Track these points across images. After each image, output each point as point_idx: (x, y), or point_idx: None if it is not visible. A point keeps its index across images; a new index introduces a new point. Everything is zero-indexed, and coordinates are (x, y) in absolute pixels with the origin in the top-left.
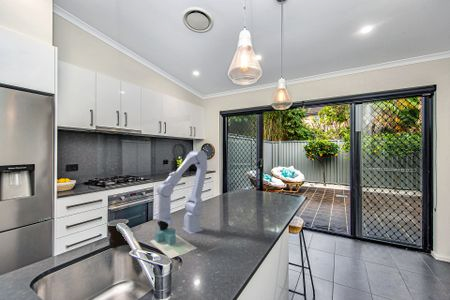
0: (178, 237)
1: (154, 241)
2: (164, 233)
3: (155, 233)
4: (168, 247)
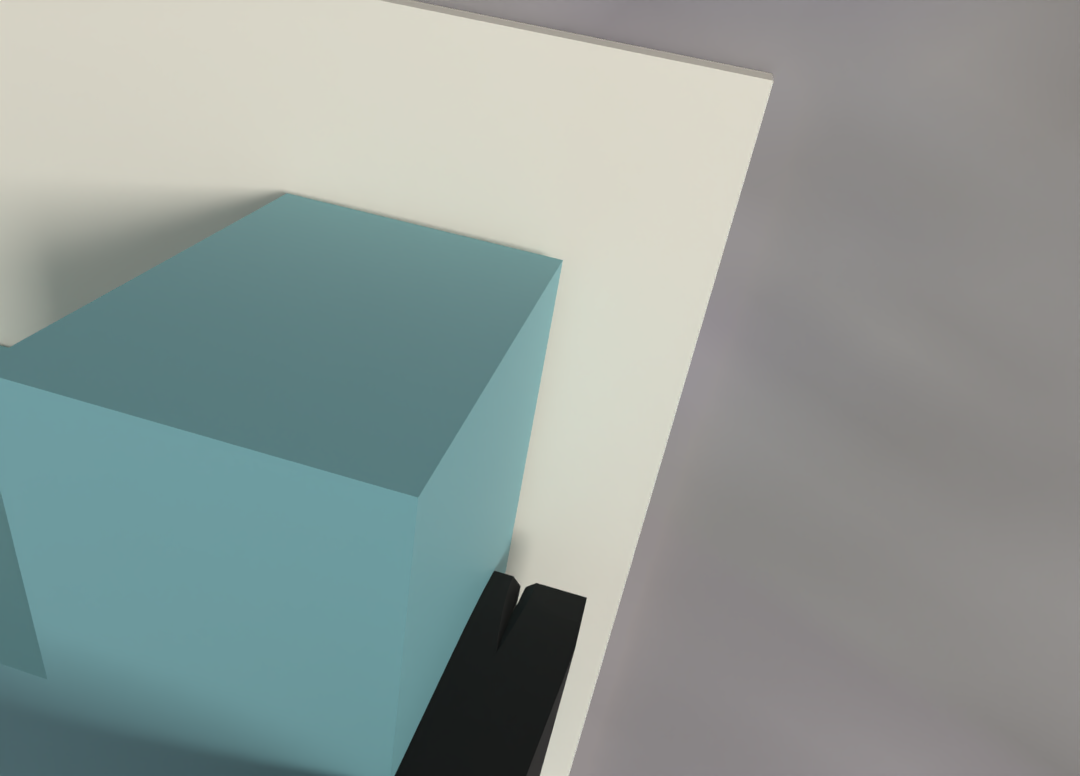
0: None
1: (527, 199)
2: (17, 627)
3: (410, 429)
4: None
